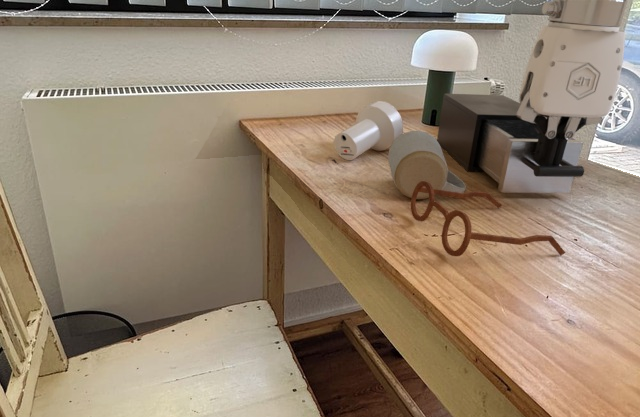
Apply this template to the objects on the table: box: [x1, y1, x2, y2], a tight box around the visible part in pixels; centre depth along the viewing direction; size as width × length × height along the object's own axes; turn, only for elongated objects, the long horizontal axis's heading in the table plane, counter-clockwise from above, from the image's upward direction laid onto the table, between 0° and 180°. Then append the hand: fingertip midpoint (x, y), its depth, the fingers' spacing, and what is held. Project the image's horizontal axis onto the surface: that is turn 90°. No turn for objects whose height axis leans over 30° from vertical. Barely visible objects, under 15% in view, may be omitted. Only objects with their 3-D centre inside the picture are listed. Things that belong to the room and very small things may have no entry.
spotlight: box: [333, 100, 404, 161], centre depth 82 cm, size 8×11×8 cm
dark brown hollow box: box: [436, 93, 537, 173], centre depth 83 cm, size 16×11×9 cm
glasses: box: [410, 181, 566, 257], centre depth 56 cm, size 13×13×5 cm
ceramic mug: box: [387, 130, 467, 200], centre depth 67 cm, size 11×8×8 cm
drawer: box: [474, 120, 585, 194], centre depth 71 cm, size 19×10×7 cm, turn 5°
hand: (545, 165), depth 64 cm, fingers closed
